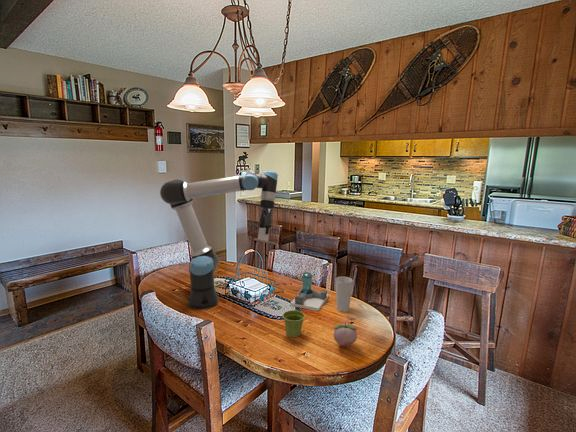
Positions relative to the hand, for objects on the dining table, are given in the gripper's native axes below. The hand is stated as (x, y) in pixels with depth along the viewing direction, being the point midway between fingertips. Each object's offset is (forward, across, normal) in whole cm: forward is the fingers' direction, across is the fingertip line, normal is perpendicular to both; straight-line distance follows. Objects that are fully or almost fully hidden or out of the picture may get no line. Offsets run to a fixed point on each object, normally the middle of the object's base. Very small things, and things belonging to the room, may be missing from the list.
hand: (262, 240), depth 170 cm
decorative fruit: (+37, -48, -28) cm, 67 cm away
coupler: (+26, -3, -27) cm, 38 cm away
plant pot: (+38, -34, -11) cm, 52 cm away
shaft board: (+29, -6, -28) cm, 40 cm away
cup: (+29, -19, -41) cm, 54 cm away
